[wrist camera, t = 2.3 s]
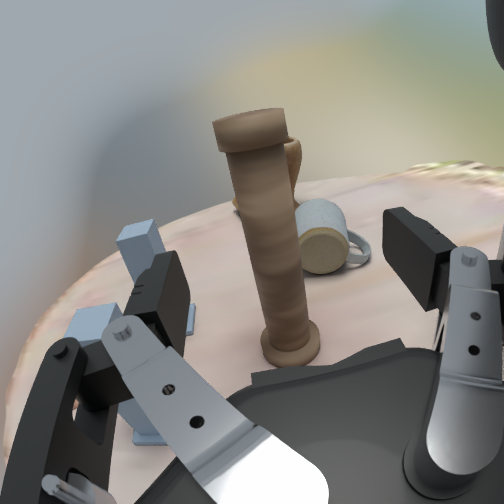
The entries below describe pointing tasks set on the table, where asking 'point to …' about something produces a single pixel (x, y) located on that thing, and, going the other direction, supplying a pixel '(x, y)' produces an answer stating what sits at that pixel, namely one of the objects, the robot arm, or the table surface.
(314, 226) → the ceramic mug
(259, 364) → the table surface
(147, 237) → the blue pillar pair
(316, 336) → the candlestick
